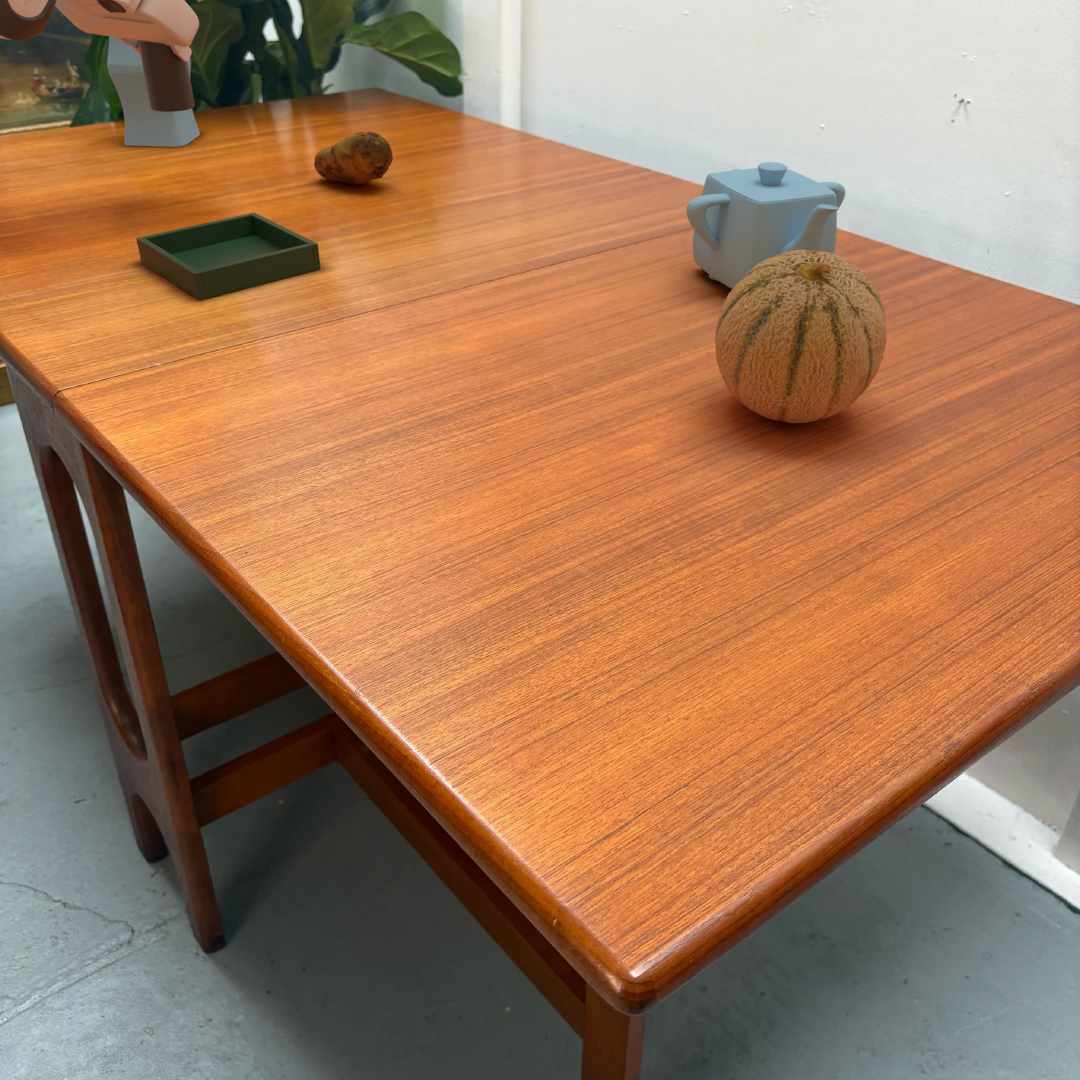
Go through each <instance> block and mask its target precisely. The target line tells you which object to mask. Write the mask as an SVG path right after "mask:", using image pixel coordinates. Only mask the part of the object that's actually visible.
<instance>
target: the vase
mask: <svg viewBox="0 0 1080 1080" xmlns="http://www.w3.org/2000/svg"><path fill="white" fill-rule="evenodd" d="M187 63H188V68H189V74H190V75H191V72H192V71H191V69H192V61H191V57H190V58H189V60H188V61H187ZM106 66H107V67H106V68H107V71H108V74H109V76H110V79H111V80H112V81H111V82H112V83H113V85H114V87H115V90H116V93H117V95H118V98H119V101H120V104H121V107H122V111H123V119H124V146H125V147H155V148H156V147H157V148H159V147H160V148H179V147H184V146H186V145H188V144H190V143H191V142H193V141H194V140H195V139H197V138H198V137H199V136H201V133H200V129H199V126H198V123H197V121H196V118H195V114H194V111H193V110H194V109H193V108H192V109H189V110H184V111H176V112H161V111H155V110H152V109H151V106H150V101H149V96H148V91H147V86H146V81H145V75H144V70H143V65H142V60H141V55H140V54H139V53H138V52H137V51H136V50H135V49H133V48H132V47H130V46H129V45H127V44H125V43H123V42H122V41H120V40H118V39H116V38H115V37H112V36H108V51H107V60H106Z"/></svg>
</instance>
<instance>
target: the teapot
mask: <svg viewBox="0 0 1080 1080" xmlns="http://www.w3.org/2000/svg"><path fill="white" fill-rule="evenodd" d="M845 196H846V188H845V186H844V185H843V184H841V183H839V182H835V181H821V182H820V181H819V182H818V181H816V180H815V179H812V178H810V177H808V176H805V175H803V174H802V173H798V172H796V171H794V170H791V169H788V166H787V165H785V164H783V163H781V162H775V161H767V162H762V163H761V162H760V163H759V164H757V167H754V168H743V169H740V168H735V169H734V168H733V169H731V170H727V171H717V172H710V173H708V174H707V175H706V178H705V182H704V184H703V189H702V193H701V195H700V196H696V197H694V198H692V199H691V200H690V201H689V202H688V203H687V205H686V209H685V210H686V211H685V212H686V216H687V220H688V222H689V224H690V226H691V228H692V229H693V235H692V236H693V237H692V255H693V259H694V262H695V264H697V265H698V266H699V267H700V268H701V269H702V270H703V271H705V273H707V274H708V278H709V279H711V280H713V281H717V282H719V283H721V284H722V285H725V286H726V287H728V288H729V289H731V290H732V289H733V288H734V287H735V286H736V285H737V284H738V282H739V281H740V280H741V279H742V278H743V277H744V276H745V275H746V273H747V272H748V271H750V270H751V269H752V268H753V267H754V266H755V265H757V264H758V263H760V262H762V261H765V260H766V259H768V258H771V257H774V256H776V255H779V254H781V253H784V252H788V251H793V250H810V251H820V252H829V253H832V254H835V253H836V245H837V230H838V229H837V226H838V225H837V224H838V211H839V209H840V207H841V205H843V202H844V200H845ZM835 255H836V254H835Z"/></svg>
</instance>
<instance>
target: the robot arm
mask: <svg viewBox="0 0 1080 1080" xmlns="http://www.w3.org/2000/svg"><path fill="white" fill-rule="evenodd" d="M55 7H56V8H57V9H58V11H59V12H61V14H62V15H63V16H64V17H66V18H67V20H69V22H71V24H72V25H74V26H75V27H77V29H79V30H80V31H82V32H84V33H86V34H89V35H90V34H91V35H98V36H104V37H105V36H106V37H109V36H112V37H115V38H116V39H118V40H120V41H122V42H123V43H125V44H127V45H129V46H130V47H132V48H133V49H135V50H136V51H137V52H138V53H139V54H140V50H139V44H138V40H141V41H148V42H155V43H163V44H166V45H167V46H170V47H171V49H172V50H171V52H170V53H171V54H172V55H173V56H174V57H176V59H177V60H180V61H186V62H187V61H188V60H189V58H190V59H191V56H192V54H193V53H192V52H193V51H192V48H191V47H190V46H191V45H192V43H193V41H194V39H195V37H196V35H197V32H198V30H199V28H200V20H199V17H198V15H197V13H195V11H194V10H193V9H192V7H191V6H190V5H189V4H188V3H187V2H186V0H0V39H3V40H10V41H19V42H21V41H27V40H31V39H33V38H35V37H37V36H38V35H39V34H40V33H42V32H43V31H44V29H46V27H47V25H48V24H49V22H50V19H51V17H52V15H53V12H54V9H55Z"/></svg>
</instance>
